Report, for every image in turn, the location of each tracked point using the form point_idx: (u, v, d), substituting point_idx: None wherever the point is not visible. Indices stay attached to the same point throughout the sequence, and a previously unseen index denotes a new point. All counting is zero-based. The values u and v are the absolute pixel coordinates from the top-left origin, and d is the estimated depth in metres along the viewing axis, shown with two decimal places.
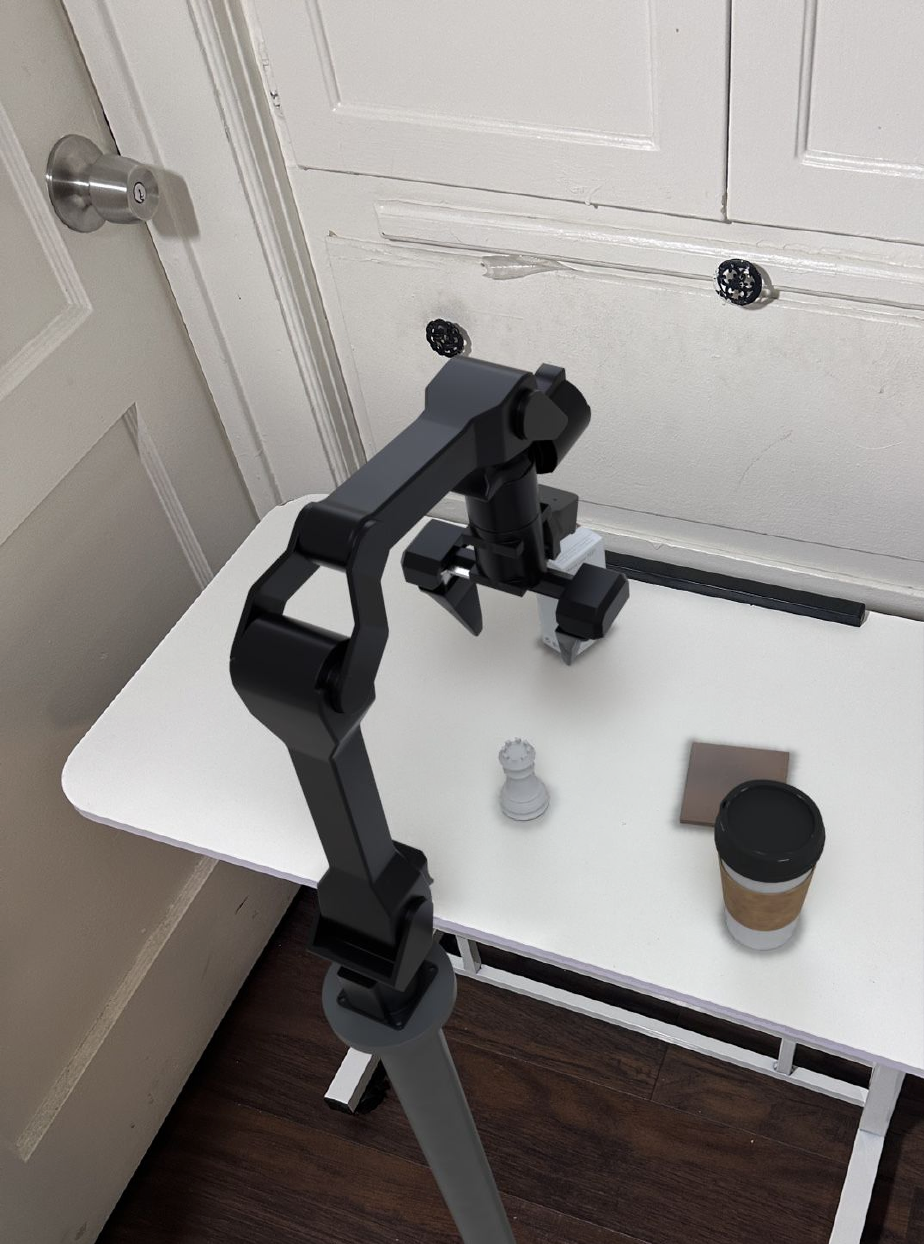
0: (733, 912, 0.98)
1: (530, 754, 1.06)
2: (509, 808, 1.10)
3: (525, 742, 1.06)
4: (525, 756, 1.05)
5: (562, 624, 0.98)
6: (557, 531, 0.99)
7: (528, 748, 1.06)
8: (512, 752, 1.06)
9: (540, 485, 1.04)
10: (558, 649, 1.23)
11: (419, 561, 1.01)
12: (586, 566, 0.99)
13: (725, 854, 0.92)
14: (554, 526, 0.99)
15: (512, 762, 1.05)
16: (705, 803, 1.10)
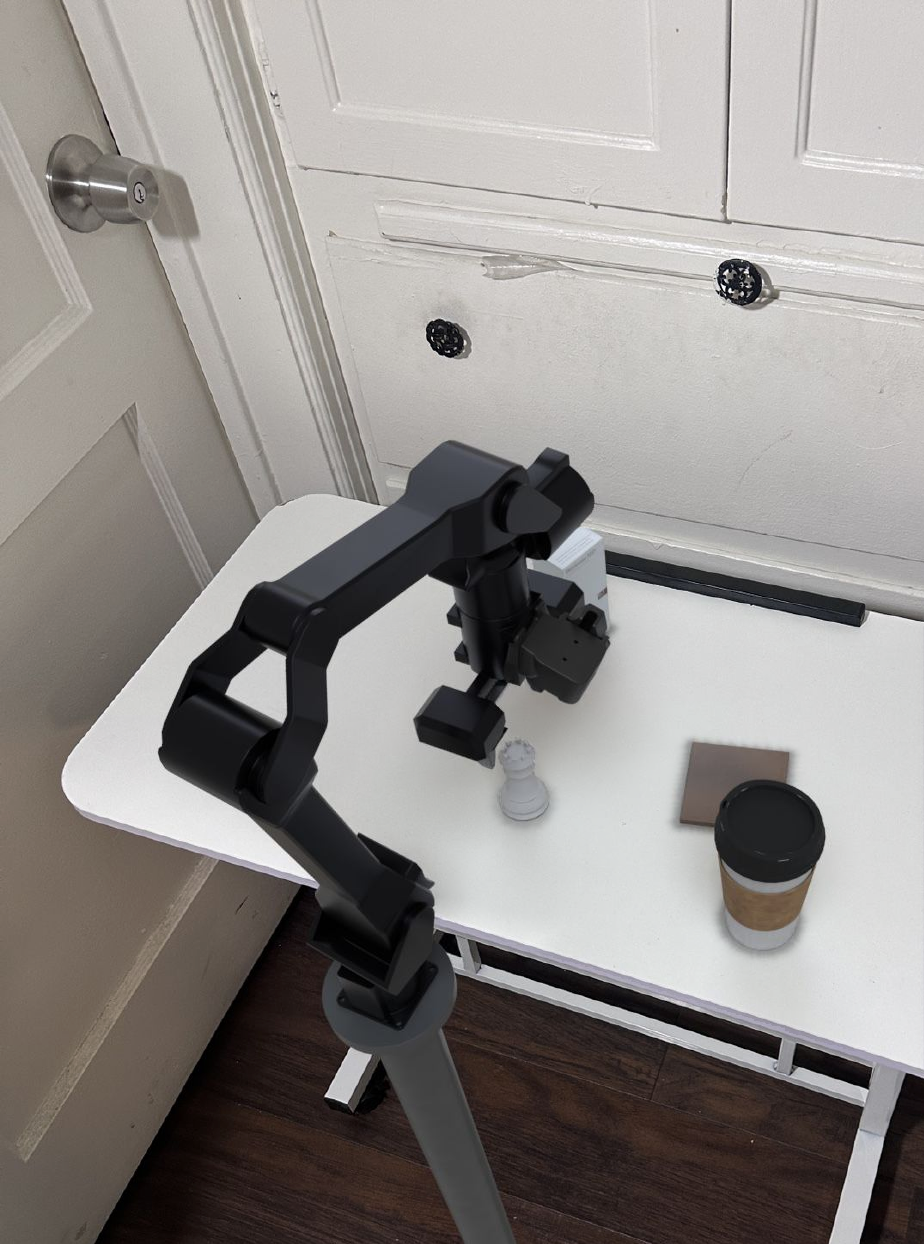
0: (733, 912, 0.98)
1: (530, 754, 1.06)
2: (509, 808, 1.10)
3: (525, 742, 1.06)
4: (525, 756, 1.05)
5: None
6: (514, 664, 0.93)
7: (528, 748, 1.06)
8: (512, 752, 1.06)
9: (601, 651, 0.94)
10: None
11: None
12: (485, 703, 0.93)
13: (725, 854, 0.92)
14: (514, 657, 0.93)
15: (512, 762, 1.05)
16: (705, 803, 1.10)
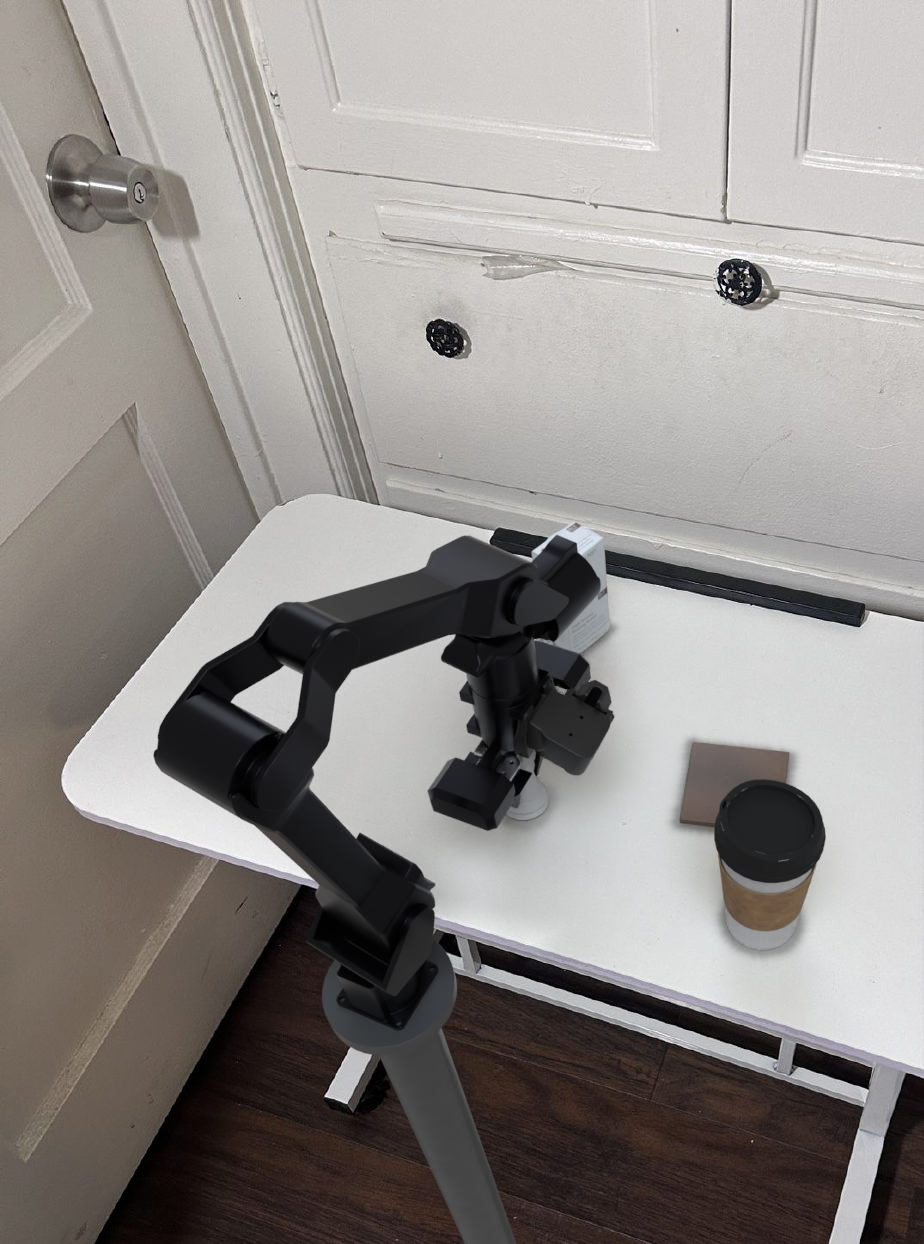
0: (733, 912, 0.98)
1: None
2: (509, 808, 1.10)
3: None
4: None
5: None
6: (523, 739, 0.99)
7: None
8: None
9: (605, 725, 1.00)
10: None
11: None
12: (496, 776, 0.99)
13: (725, 854, 0.92)
14: (522, 733, 0.98)
15: None
16: (705, 803, 1.10)
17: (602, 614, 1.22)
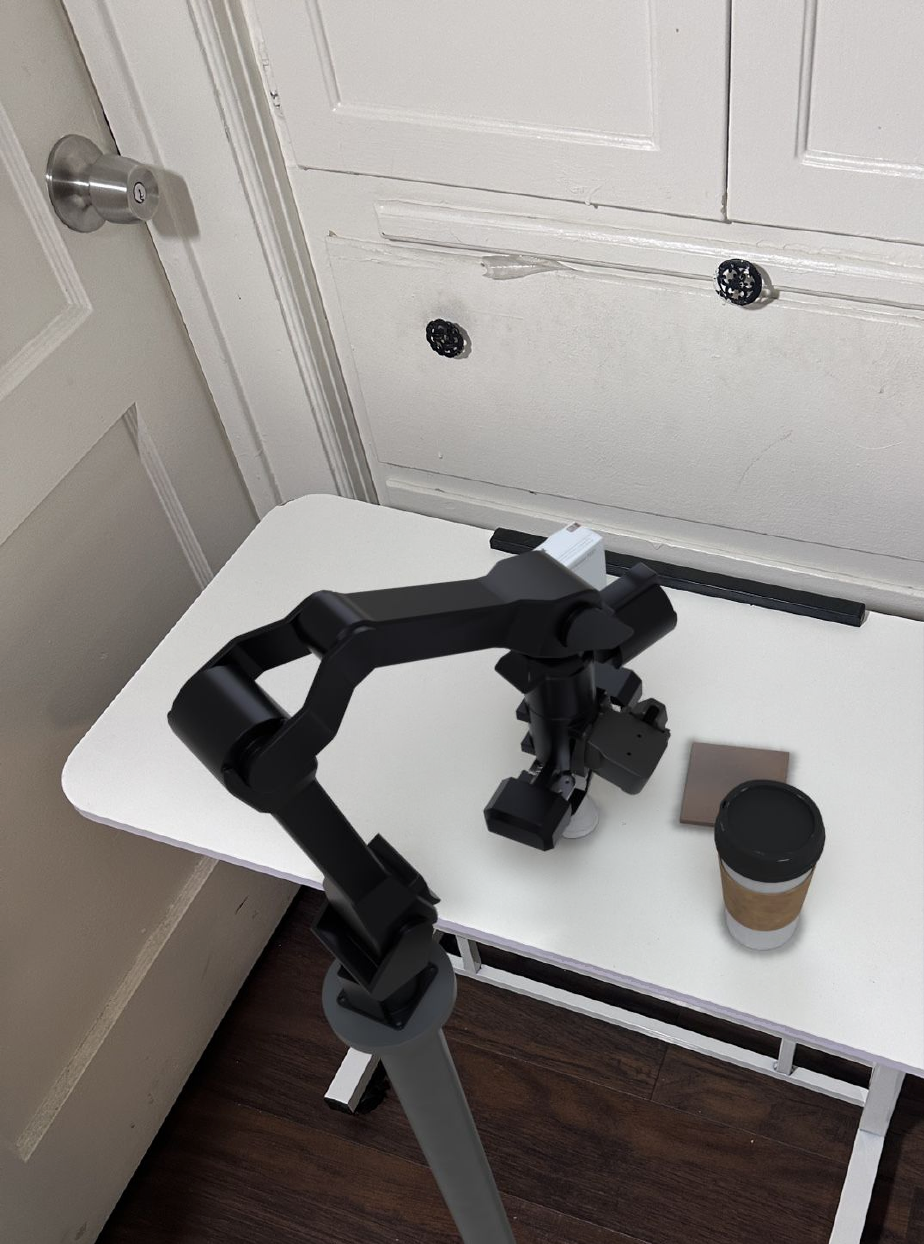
0: (733, 912, 0.98)
1: None
2: None
3: None
4: None
5: None
6: (581, 759, 0.97)
7: None
8: None
9: (663, 744, 0.98)
10: None
11: None
12: (553, 796, 0.97)
13: (725, 854, 0.92)
14: (580, 752, 0.97)
15: None
16: (705, 803, 1.10)
17: None
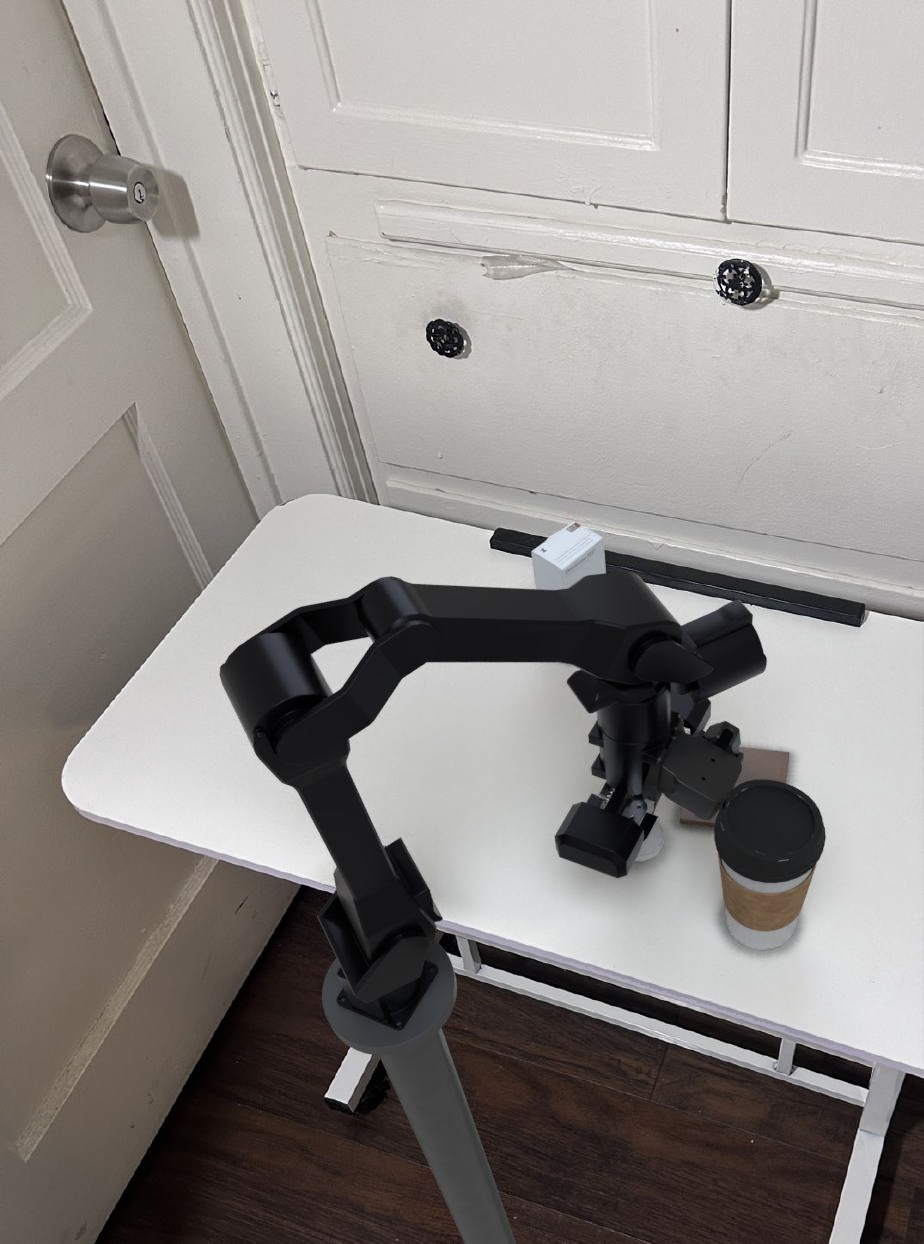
0: (733, 912, 0.98)
1: None
2: None
3: None
4: None
5: None
6: (654, 784, 0.95)
7: None
8: None
9: (737, 768, 0.97)
10: None
11: None
12: (626, 822, 0.95)
13: (725, 854, 0.92)
14: (654, 777, 0.95)
15: None
16: None
17: None
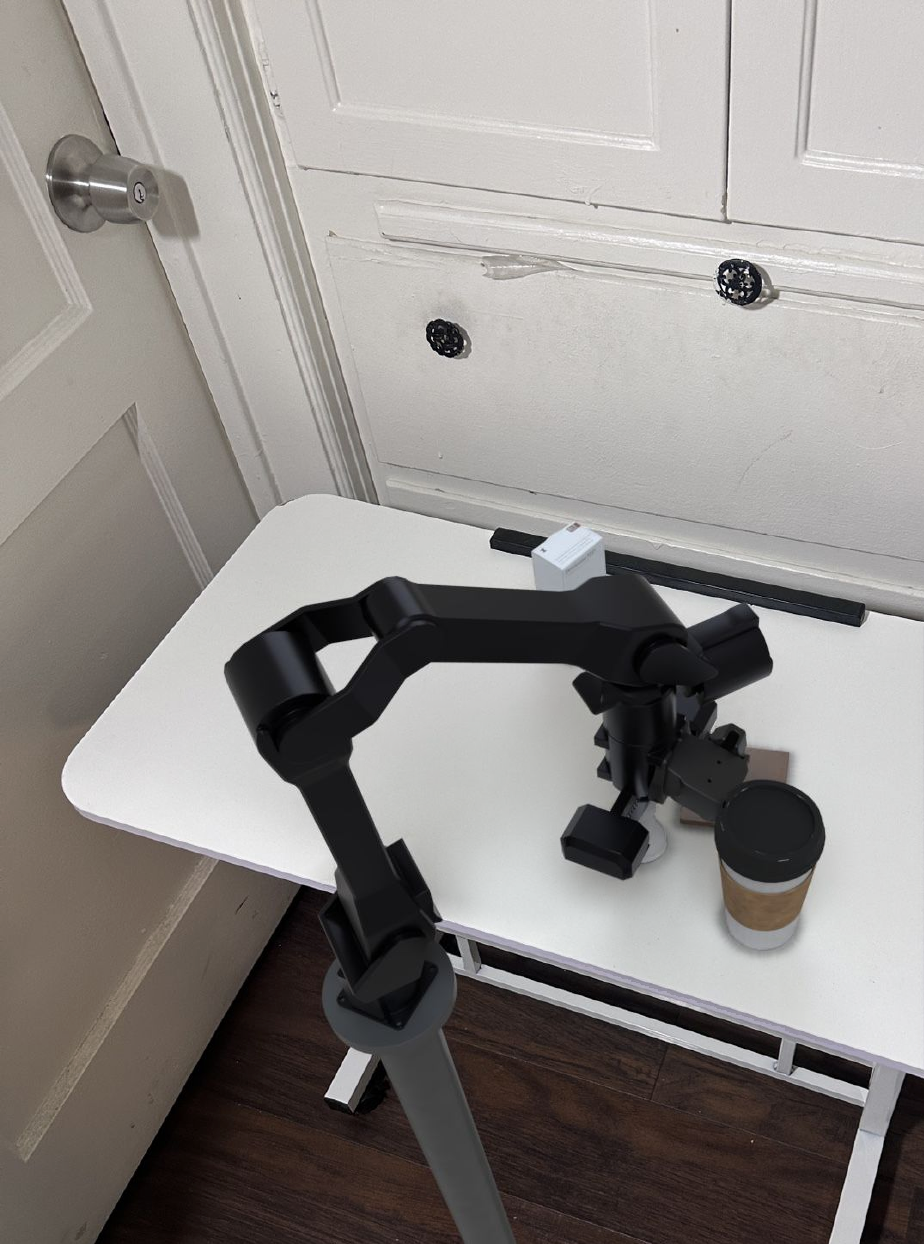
0: (733, 912, 0.98)
1: None
2: None
3: None
4: None
5: None
6: (660, 786, 0.95)
7: None
8: None
9: (743, 771, 0.96)
10: None
11: None
12: (632, 824, 0.95)
13: (725, 854, 0.92)
14: (660, 779, 0.95)
15: None
16: None
17: None
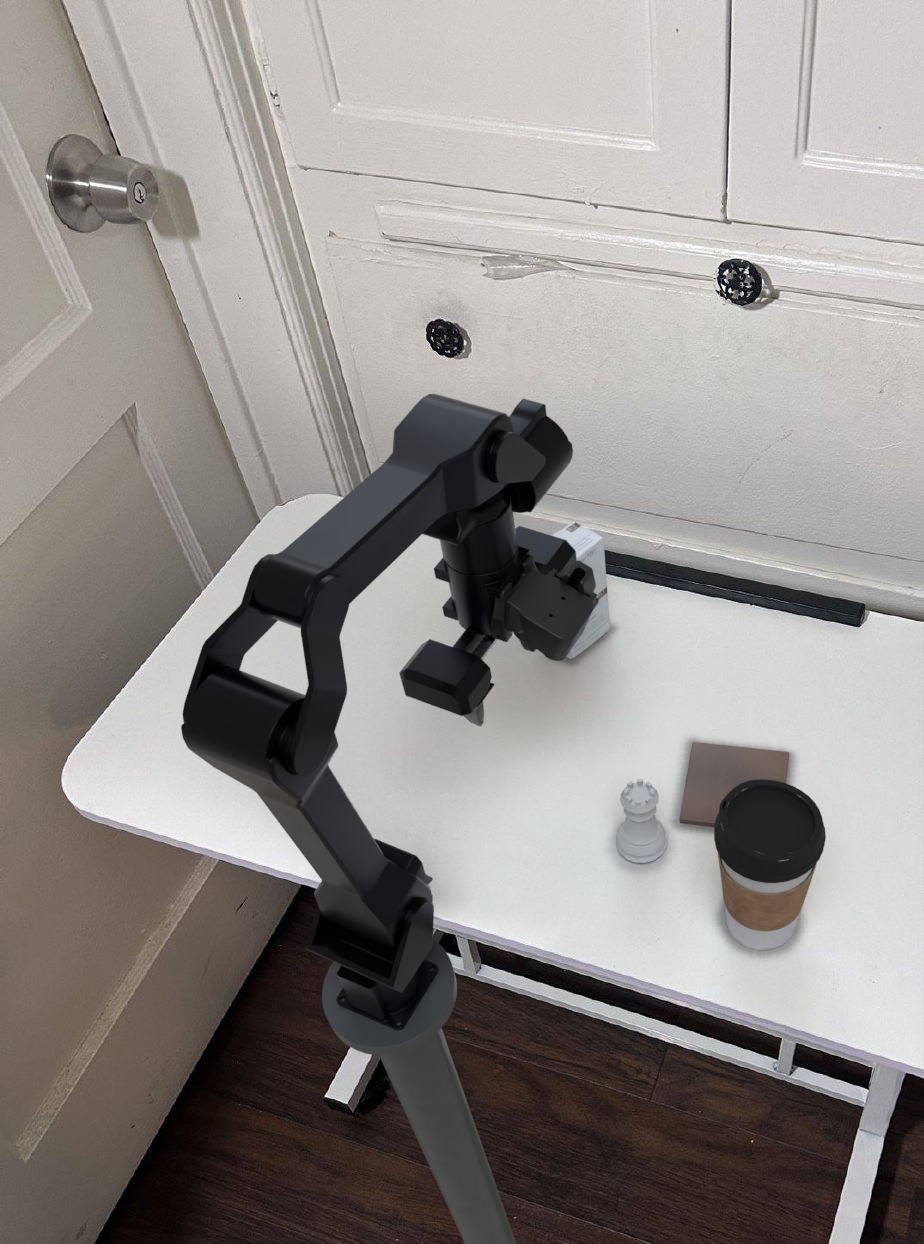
0: (733, 912, 0.98)
1: (654, 796, 1.02)
2: (628, 851, 1.06)
3: (648, 784, 1.03)
4: (649, 799, 1.02)
5: None
6: (501, 620, 0.93)
7: (652, 790, 1.02)
8: (635, 795, 1.02)
9: (588, 608, 0.94)
10: None
11: None
12: (471, 658, 0.93)
13: (725, 854, 0.92)
14: (500, 613, 0.93)
15: (635, 805, 1.02)
16: (705, 803, 1.10)
17: (602, 614, 1.22)
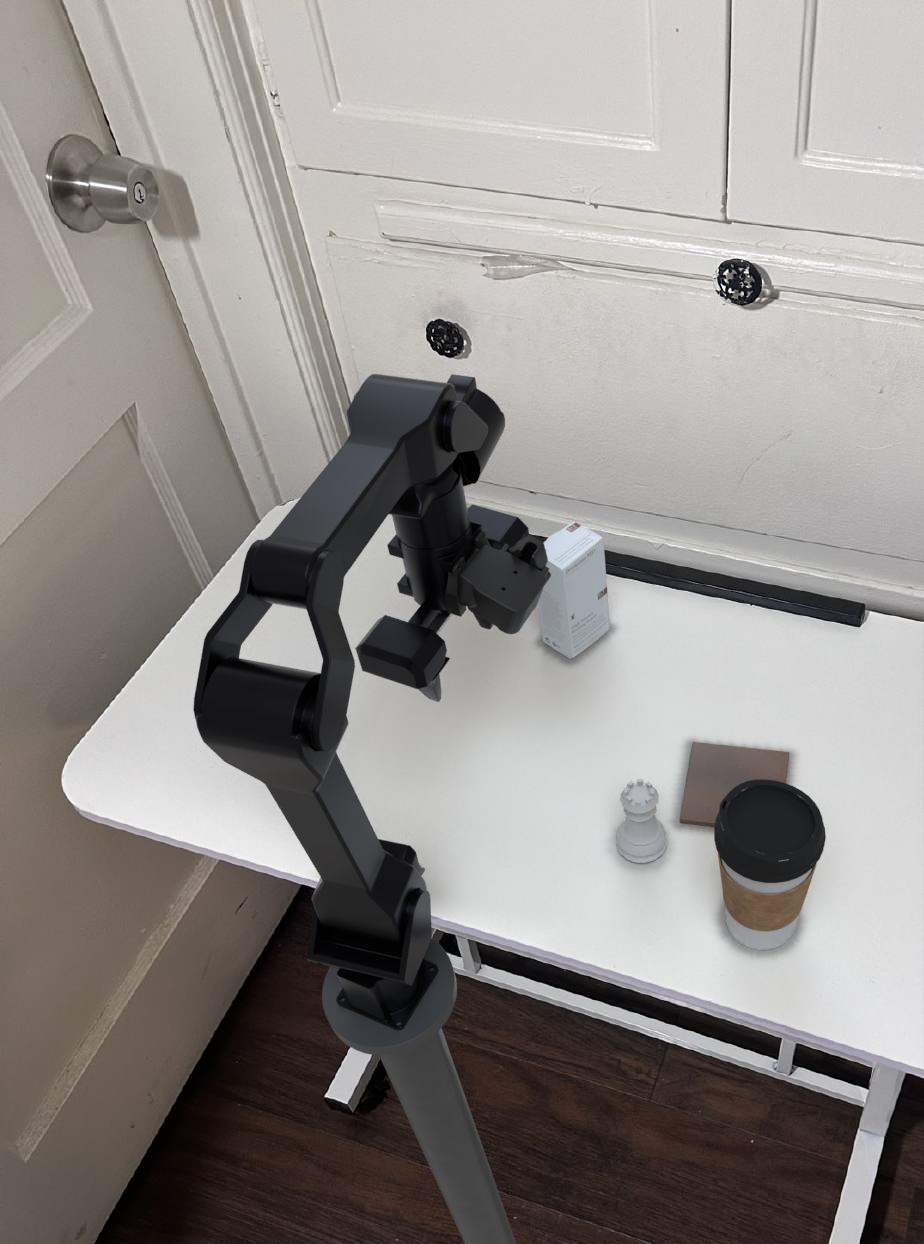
0: (733, 912, 0.98)
1: (654, 796, 1.02)
2: (628, 851, 1.06)
3: (648, 784, 1.03)
4: (649, 799, 1.02)
5: None
6: (454, 594, 0.95)
7: (652, 790, 1.02)
8: (635, 795, 1.02)
9: (540, 581, 0.96)
10: (558, 649, 1.23)
11: None
12: (426, 632, 0.95)
13: (725, 854, 0.92)
14: (453, 587, 0.95)
15: (635, 805, 1.02)
16: (705, 803, 1.10)
17: (602, 614, 1.22)
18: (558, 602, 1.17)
